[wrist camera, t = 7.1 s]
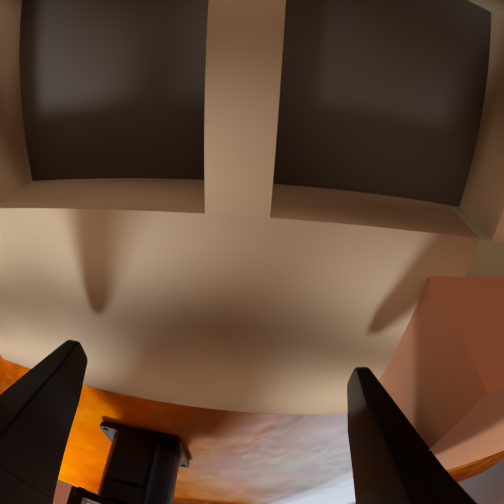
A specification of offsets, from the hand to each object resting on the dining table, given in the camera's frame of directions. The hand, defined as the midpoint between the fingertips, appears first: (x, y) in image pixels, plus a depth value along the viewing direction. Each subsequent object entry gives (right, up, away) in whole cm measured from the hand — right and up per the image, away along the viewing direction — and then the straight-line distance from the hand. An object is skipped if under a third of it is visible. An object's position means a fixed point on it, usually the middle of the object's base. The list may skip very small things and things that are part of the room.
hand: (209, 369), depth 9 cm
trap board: (+2, +5, +1) cm, 5 cm away
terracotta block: (+9, 0, +1) cm, 9 cm away
